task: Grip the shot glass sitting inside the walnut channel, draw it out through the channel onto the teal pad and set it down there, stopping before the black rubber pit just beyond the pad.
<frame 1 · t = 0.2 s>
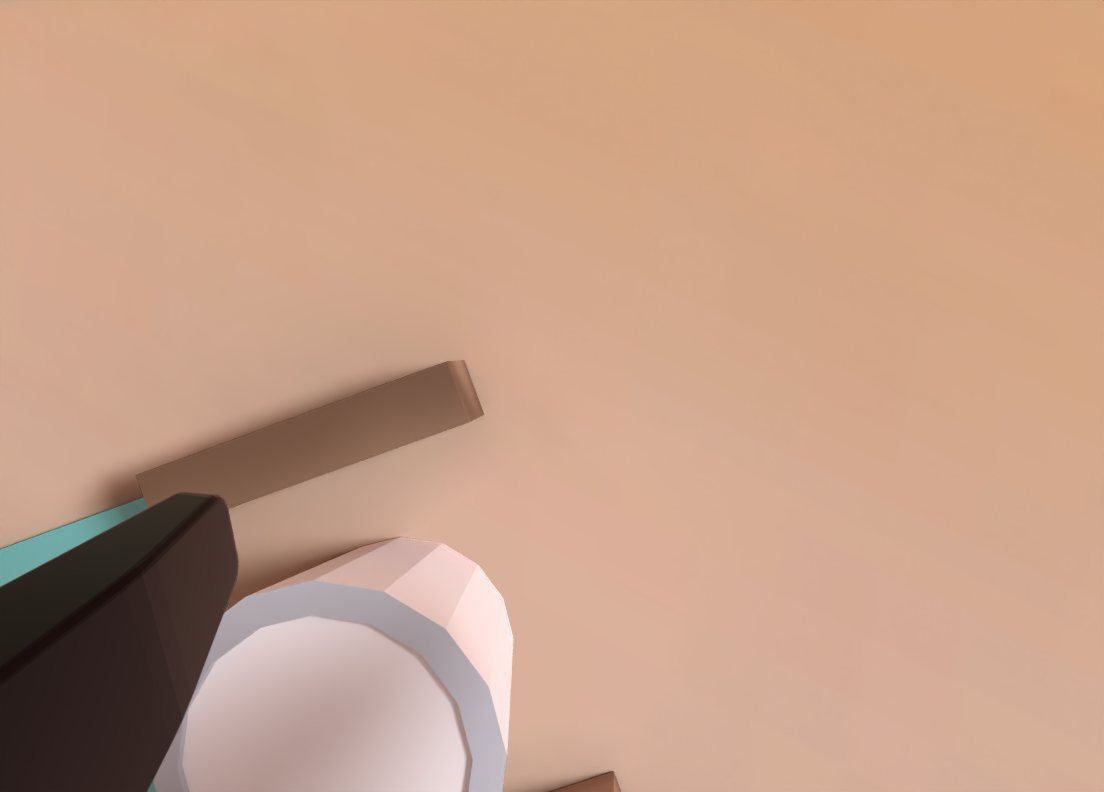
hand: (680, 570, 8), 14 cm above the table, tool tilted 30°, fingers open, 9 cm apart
teal pad: (135, 734, 24), on the table
walnut channel: (407, 642, 23), on the table
shot glass: (409, 639, 24), on the table
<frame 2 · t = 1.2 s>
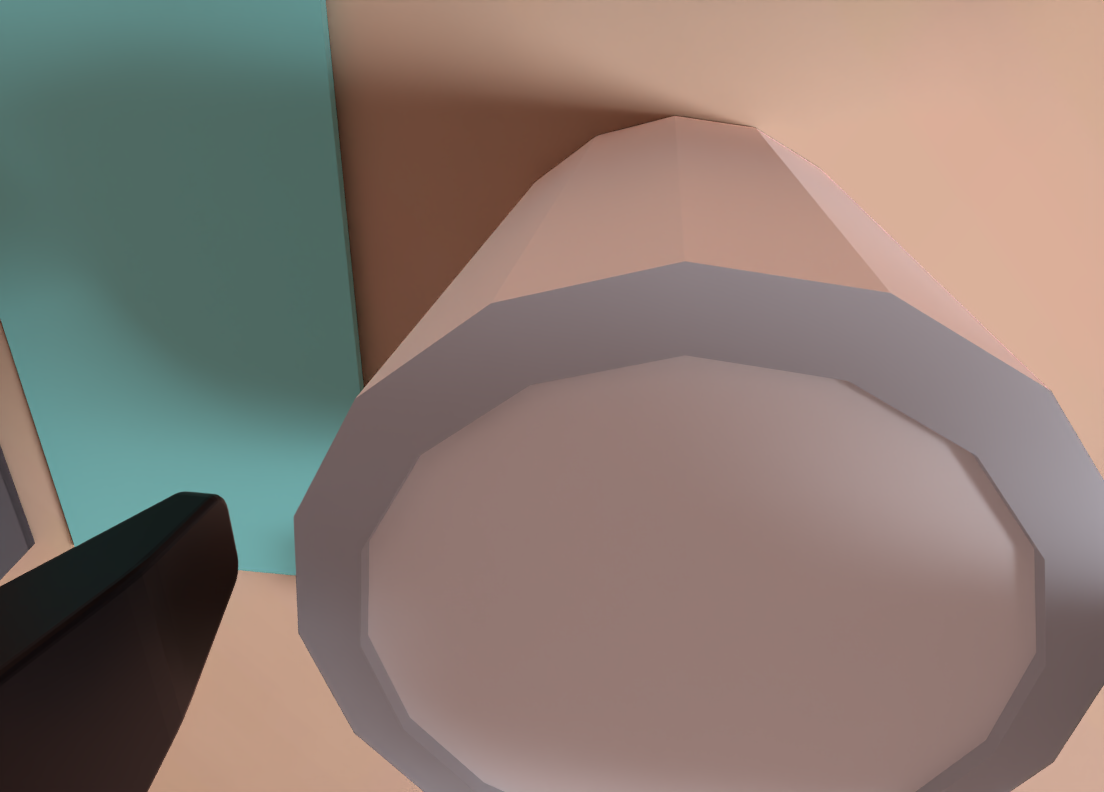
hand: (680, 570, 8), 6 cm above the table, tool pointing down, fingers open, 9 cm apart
teal pad: (169, 272, 14), on the table
shot glass: (676, 300, 13), on the table
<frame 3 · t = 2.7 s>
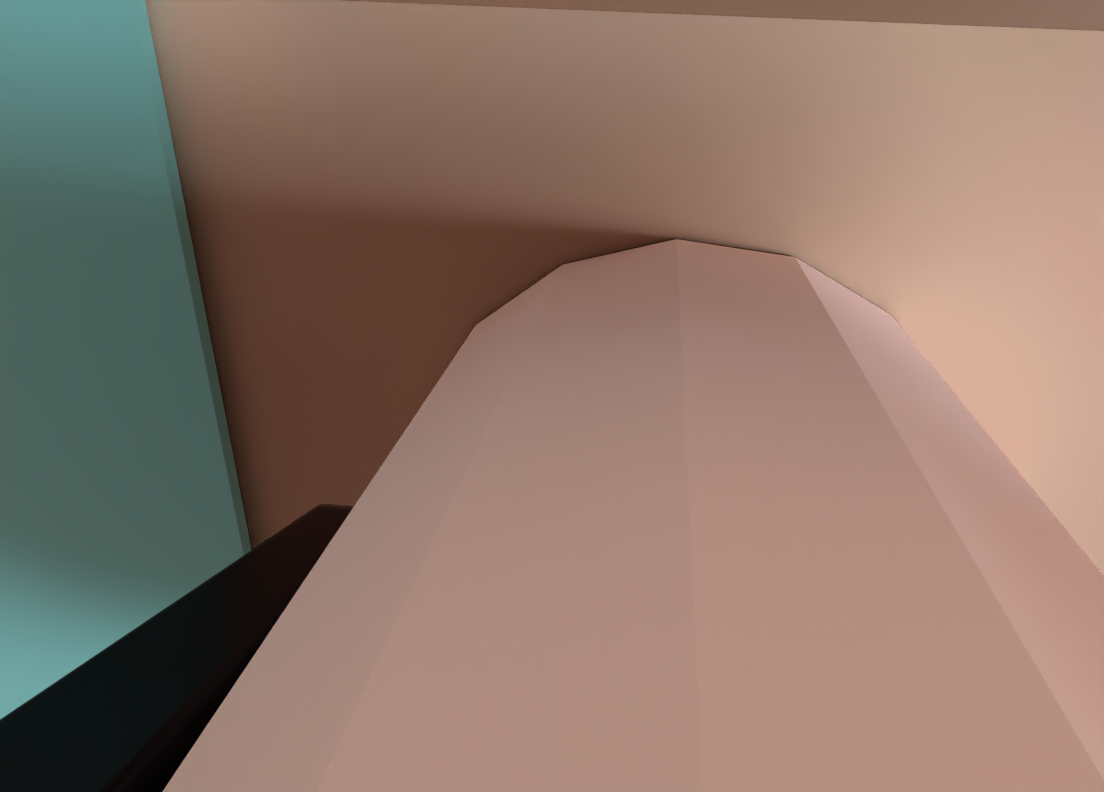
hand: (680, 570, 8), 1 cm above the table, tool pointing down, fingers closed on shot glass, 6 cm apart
walnut channel: (678, 486, 9), on the table
shot glass: (677, 476, 10), on the table, touching gripper
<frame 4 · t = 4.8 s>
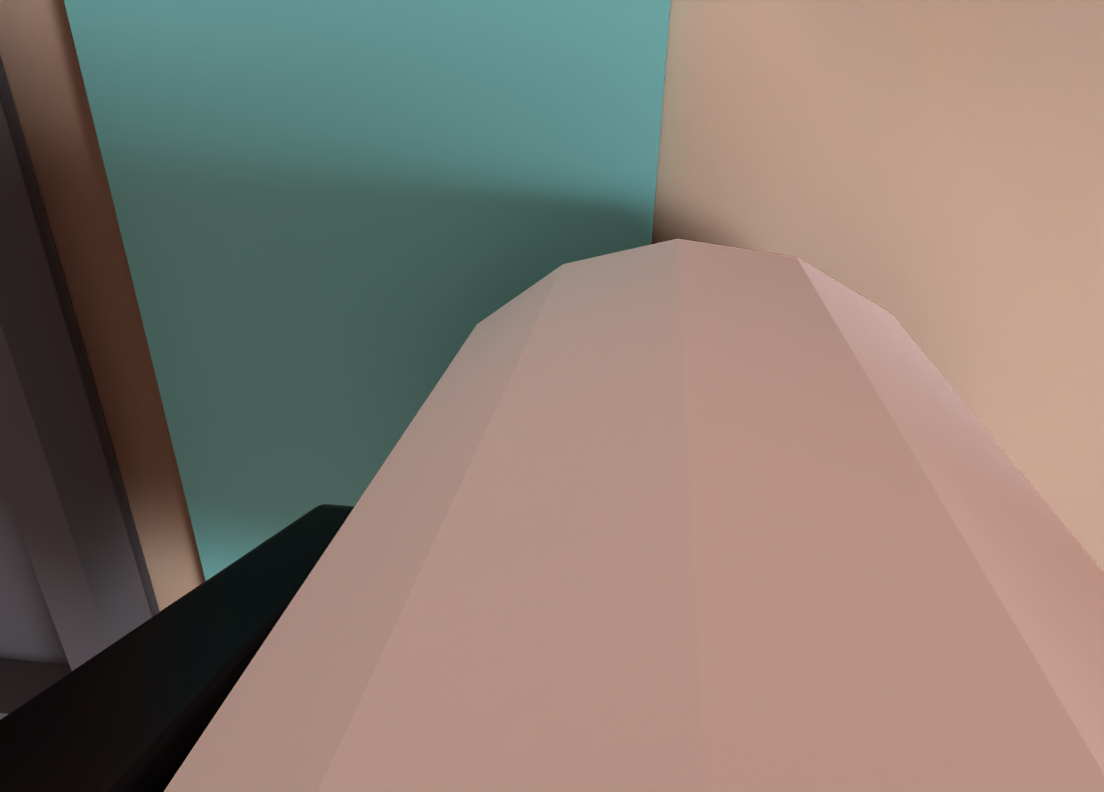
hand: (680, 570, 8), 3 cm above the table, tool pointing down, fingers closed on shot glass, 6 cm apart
teal pad: (396, 396, 11), on the table
shot glass: (678, 476, 10), point 1 cm above the table, touching gripper
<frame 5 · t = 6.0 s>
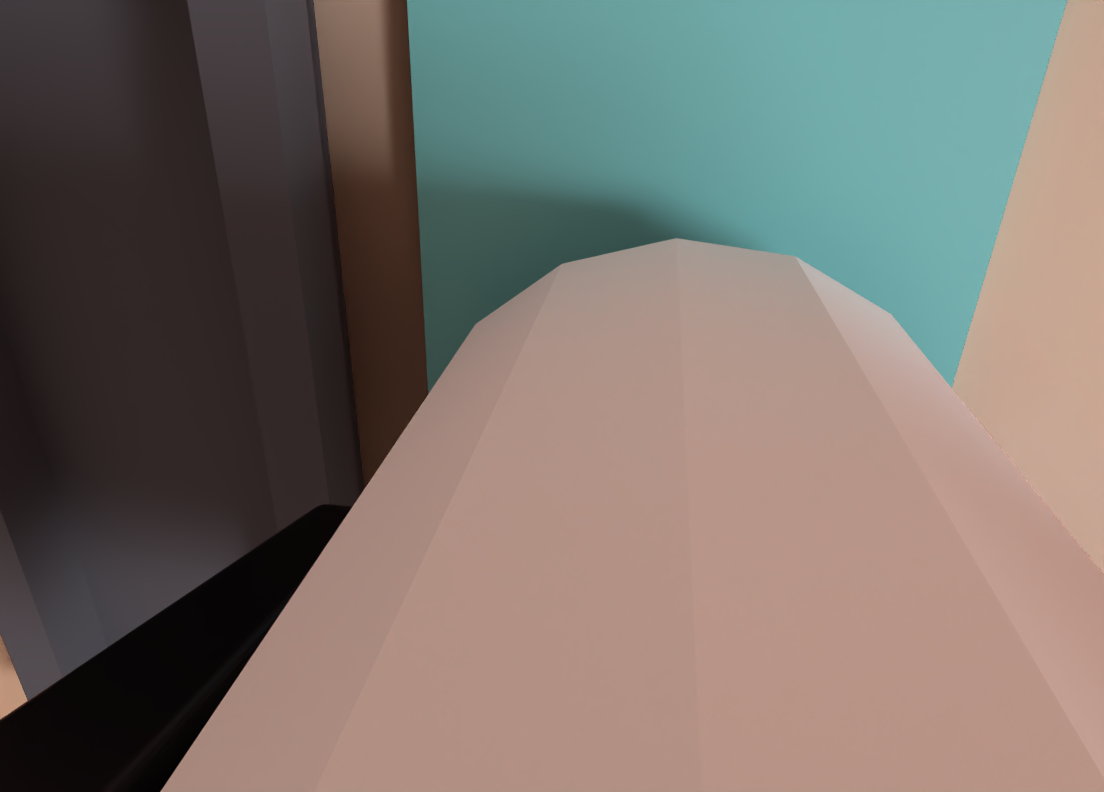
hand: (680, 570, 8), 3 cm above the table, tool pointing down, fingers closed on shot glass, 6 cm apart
teal pad: (675, 415, 11), on the table
trap pit: (161, 375, 11), on the table
shot glass: (677, 475, 10), point 1 cm above the table, touching gripper
when the fingers open (2 cm above the table, at t = 7.1 s): shot glass stays where it is, resting on teal pad.
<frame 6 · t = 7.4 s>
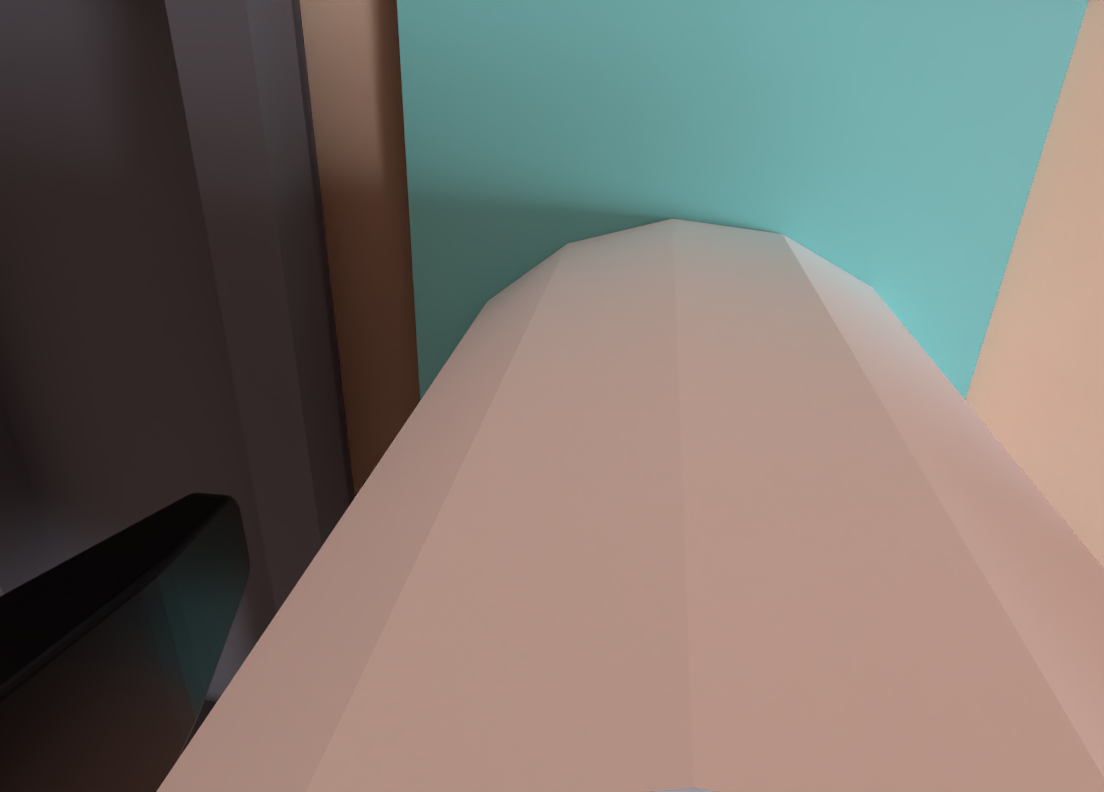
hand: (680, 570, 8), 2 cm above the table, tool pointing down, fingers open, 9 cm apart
teal pad: (676, 437, 10), on the table
trap pit: (146, 394, 11), on the table
shot glass: (676, 442, 10), resting on teal pad
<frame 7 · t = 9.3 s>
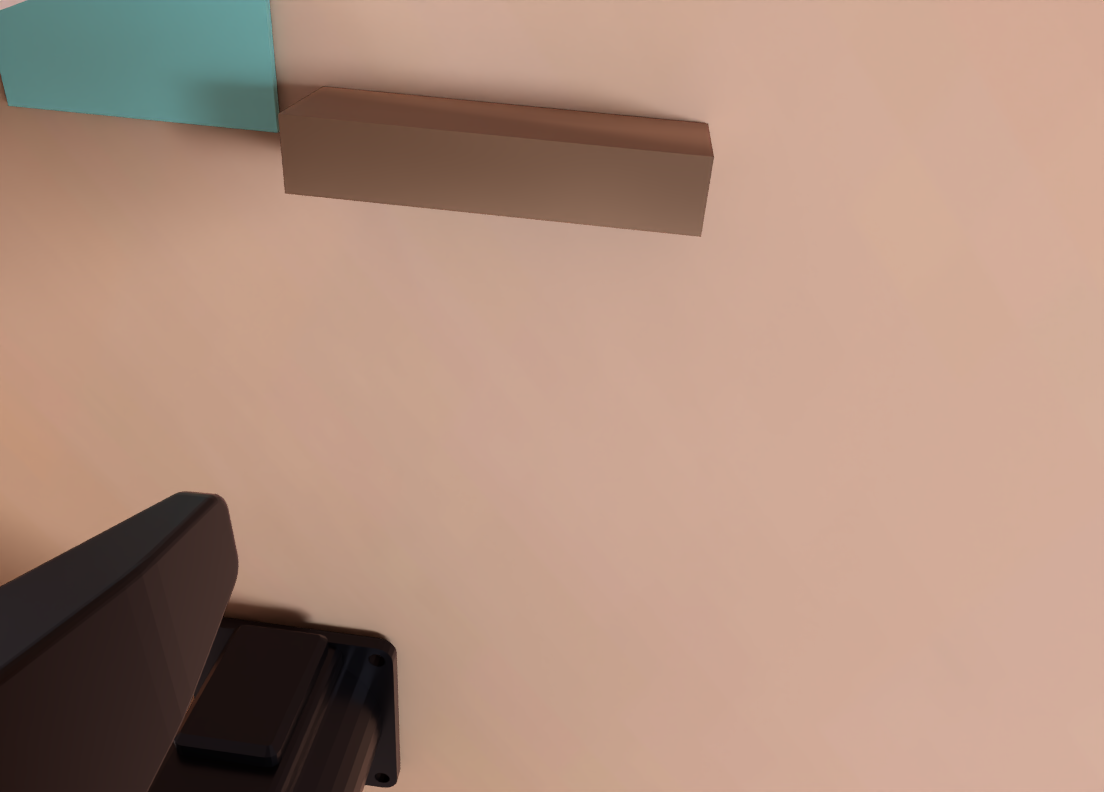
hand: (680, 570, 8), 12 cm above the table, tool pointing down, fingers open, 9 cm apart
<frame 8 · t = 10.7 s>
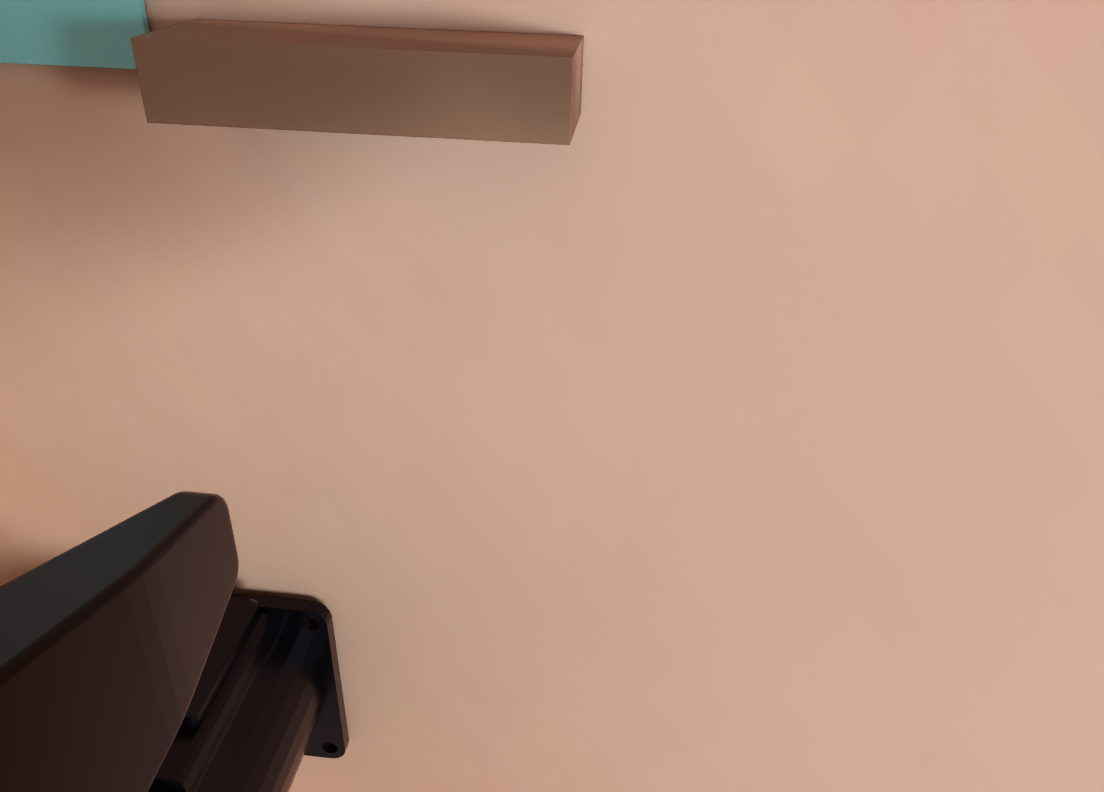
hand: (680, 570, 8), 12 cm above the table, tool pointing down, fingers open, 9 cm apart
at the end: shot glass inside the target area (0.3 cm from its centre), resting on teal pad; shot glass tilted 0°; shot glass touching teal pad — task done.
